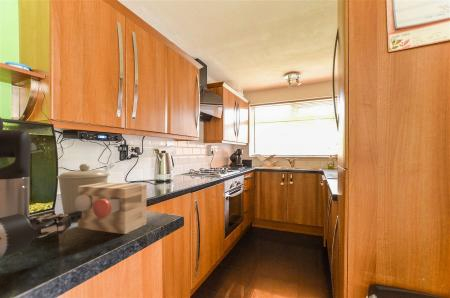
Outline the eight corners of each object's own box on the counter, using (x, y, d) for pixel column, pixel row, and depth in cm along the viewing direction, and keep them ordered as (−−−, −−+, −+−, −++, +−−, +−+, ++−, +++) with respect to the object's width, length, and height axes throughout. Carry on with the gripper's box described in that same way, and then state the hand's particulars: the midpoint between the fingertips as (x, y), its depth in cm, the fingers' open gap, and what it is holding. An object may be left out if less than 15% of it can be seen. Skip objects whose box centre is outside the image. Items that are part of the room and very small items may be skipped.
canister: (84, 223, 77) (84, 165, 78) (43, 220, 81) (44, 164, 81) (118, 210, 95) (118, 162, 95) (84, 208, 99) (84, 162, 99)
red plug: (93, 216, 63) (93, 199, 63) (116, 209, 72) (116, 193, 72) (106, 218, 62) (106, 200, 62) (128, 210, 70) (128, 194, 70)
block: (77, 227, 73) (77, 186, 73) (102, 219, 82) (102, 182, 82) (125, 234, 67) (125, 188, 67) (146, 223, 76) (146, 184, 76)
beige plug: (75, 210, 70) (75, 194, 71) (97, 204, 79) (98, 190, 79) (86, 211, 69) (87, 195, 69) (109, 205, 77) (109, 191, 77)
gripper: (14, 223, 38) (99, 201, 55) (-28, 217, 43) (62, 198, 59) (14, 265, 38) (99, 231, 55) (-29, 255, 42) (62, 226, 59)
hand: (79, 214), depth 57 cm, fingers closed
